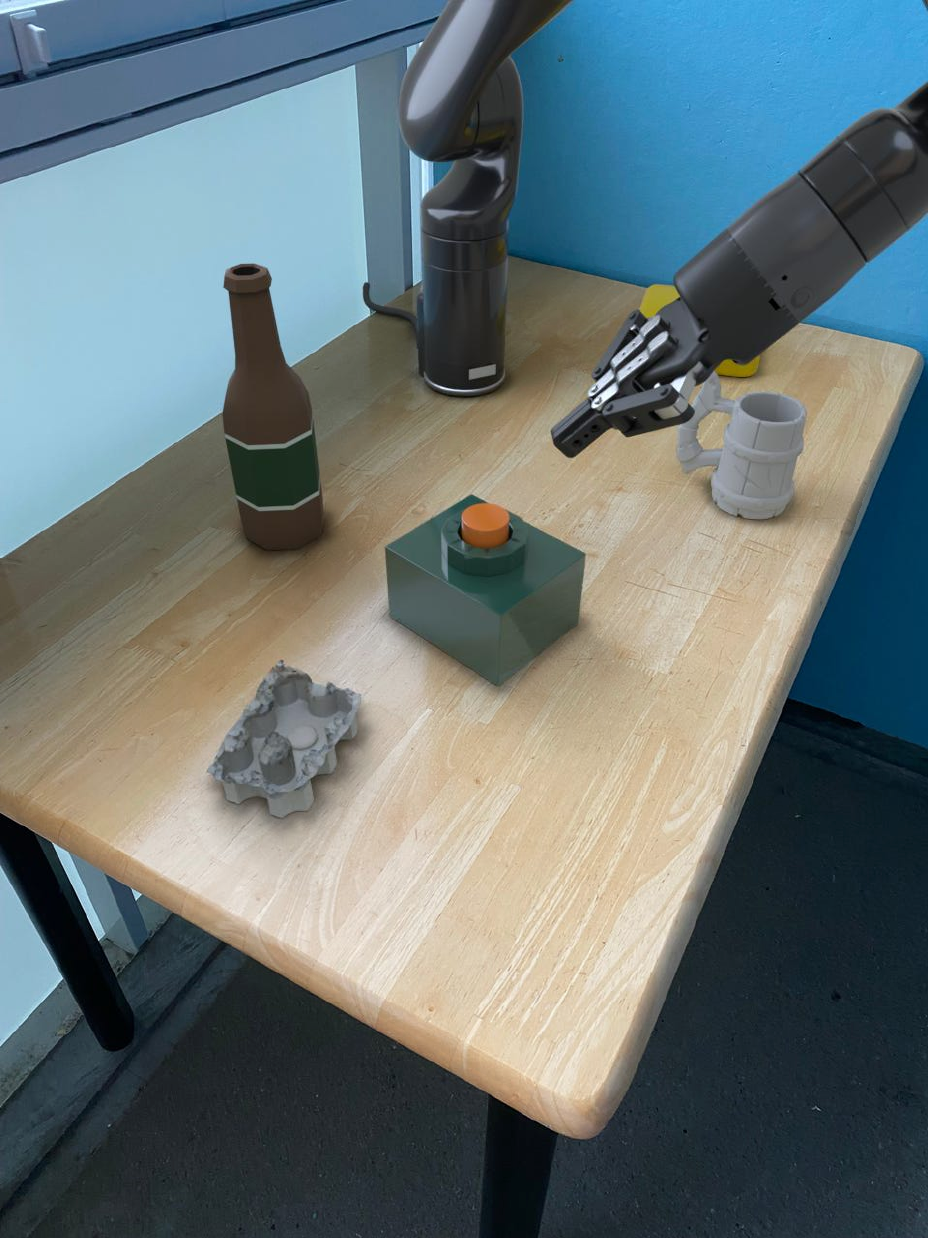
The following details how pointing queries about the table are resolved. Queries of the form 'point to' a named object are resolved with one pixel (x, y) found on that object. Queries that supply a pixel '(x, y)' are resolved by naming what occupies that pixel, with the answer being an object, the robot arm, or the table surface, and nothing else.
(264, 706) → the egg carton
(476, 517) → the orange button
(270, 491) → the beer bottle
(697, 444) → the mug
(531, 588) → the green button block
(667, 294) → the element tile
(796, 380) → the table surface
